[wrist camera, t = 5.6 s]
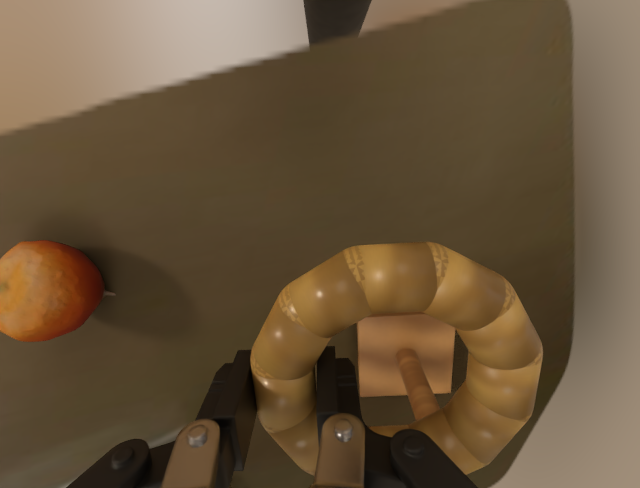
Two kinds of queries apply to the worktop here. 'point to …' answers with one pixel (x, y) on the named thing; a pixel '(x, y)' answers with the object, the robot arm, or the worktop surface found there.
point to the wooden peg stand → (405, 358)
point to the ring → (394, 297)
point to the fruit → (47, 290)
